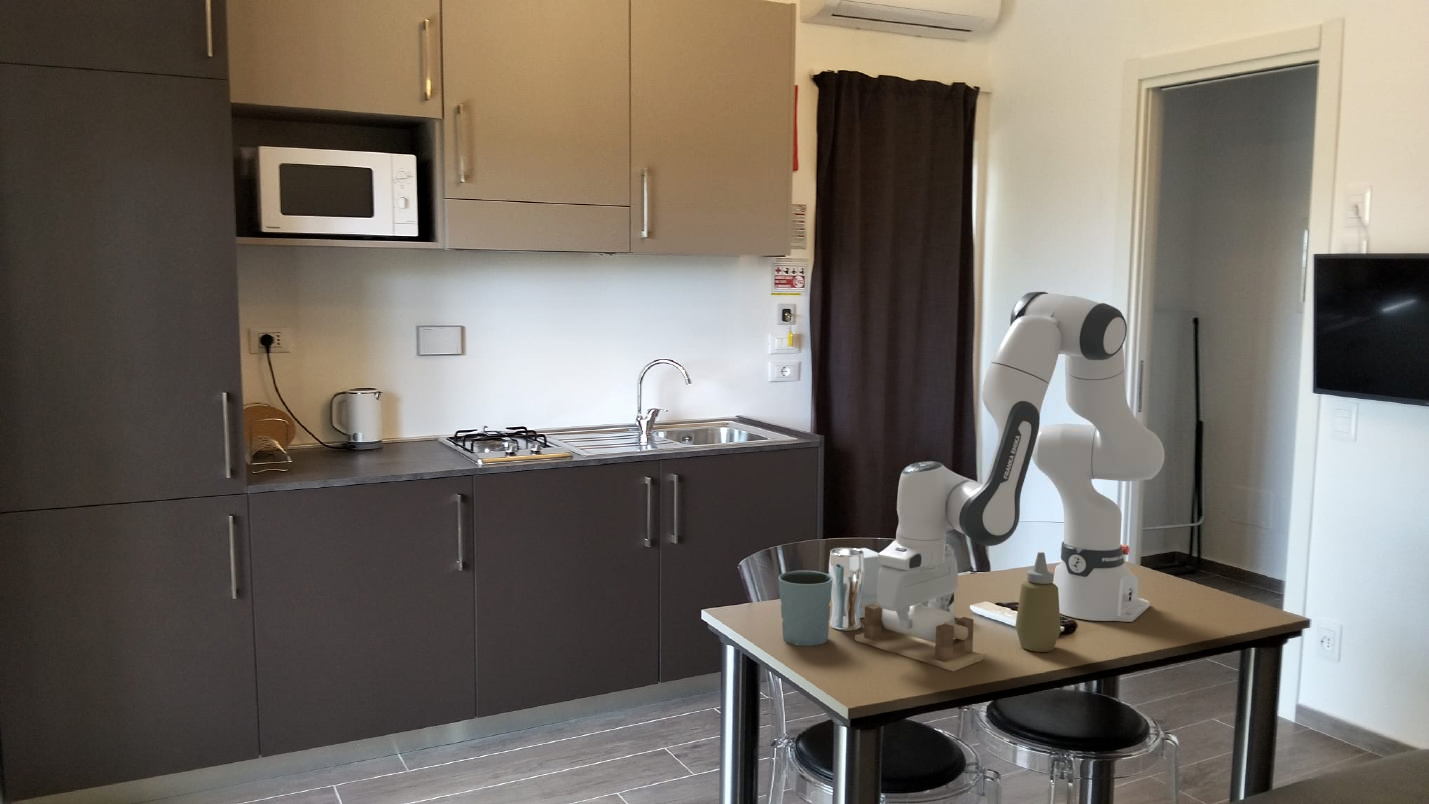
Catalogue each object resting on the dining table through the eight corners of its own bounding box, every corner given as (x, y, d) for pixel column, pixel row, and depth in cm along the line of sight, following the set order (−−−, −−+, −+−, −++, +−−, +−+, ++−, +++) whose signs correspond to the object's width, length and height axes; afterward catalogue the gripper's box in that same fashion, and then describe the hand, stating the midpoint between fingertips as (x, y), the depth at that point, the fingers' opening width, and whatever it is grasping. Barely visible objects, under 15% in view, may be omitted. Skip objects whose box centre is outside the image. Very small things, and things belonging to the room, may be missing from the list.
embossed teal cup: (842, 641, 199) (843, 578, 197) (800, 651, 193) (802, 586, 192) (807, 627, 207) (808, 567, 206) (766, 636, 201) (767, 574, 200)
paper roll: (864, 627, 199) (865, 596, 199) (884, 620, 203) (884, 590, 203) (954, 654, 185) (954, 620, 184) (973, 645, 189) (974, 613, 188)
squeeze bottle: (1025, 637, 202) (1028, 545, 200) (1066, 647, 197) (1070, 552, 195) (1007, 648, 196) (1011, 553, 194) (1049, 658, 190) (1054, 560, 189)
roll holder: (854, 640, 199) (855, 604, 198) (884, 630, 205) (885, 595, 205) (953, 671, 183) (954, 631, 182) (982, 659, 189) (983, 621, 188)
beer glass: (842, 633, 203) (844, 557, 202) (820, 623, 209) (822, 549, 208) (870, 627, 207) (872, 553, 205) (847, 618, 213) (849, 545, 211)
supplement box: (864, 606, 222) (866, 547, 221) (883, 615, 215) (885, 555, 214) (834, 609, 219) (835, 550, 218) (852, 619, 212) (853, 558, 211)
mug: (956, 622, 211) (957, 589, 211) (923, 621, 211) (924, 589, 211) (945, 607, 221) (946, 576, 221) (913, 607, 221) (914, 576, 221)
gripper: (939, 539, 202) (937, 609, 203) (871, 556, 188) (869, 631, 189) (967, 545, 197) (965, 617, 198) (900, 562, 183) (898, 640, 185)
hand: (918, 624), depth 194 cm, fingers closed on paper roll, 6 cm apart
